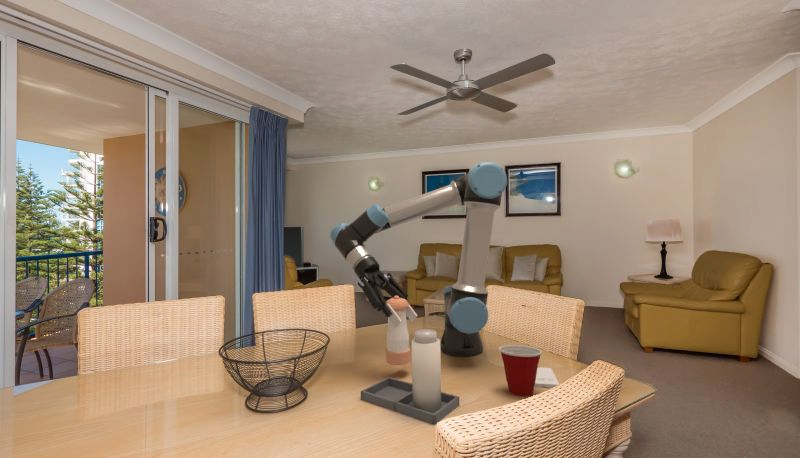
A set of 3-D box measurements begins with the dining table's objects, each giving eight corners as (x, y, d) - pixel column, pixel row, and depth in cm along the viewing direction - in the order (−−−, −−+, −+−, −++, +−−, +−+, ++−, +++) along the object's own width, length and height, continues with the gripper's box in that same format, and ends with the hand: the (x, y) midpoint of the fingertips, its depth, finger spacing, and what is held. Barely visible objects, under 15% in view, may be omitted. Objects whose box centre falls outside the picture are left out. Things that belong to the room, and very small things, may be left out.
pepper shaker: (414, 358, 113) (412, 294, 113) (404, 366, 107) (402, 298, 107) (392, 355, 116) (390, 293, 116) (381, 363, 110) (379, 297, 110)
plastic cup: (542, 388, 102) (541, 343, 102) (543, 406, 92) (542, 356, 92) (500, 383, 106) (500, 340, 106) (497, 400, 95) (496, 352, 95)
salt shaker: (423, 398, 95) (421, 326, 95) (446, 406, 91) (445, 330, 91) (407, 409, 89) (405, 333, 90) (431, 417, 85) (430, 337, 85)
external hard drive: (551, 373, 114) (560, 390, 102) (523, 371, 116) (528, 388, 104) (551, 367, 114) (560, 384, 102) (522, 366, 116) (528, 382, 104)
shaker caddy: (388, 387, 104) (388, 376, 104) (459, 409, 91) (459, 396, 91) (360, 403, 95) (360, 391, 95) (434, 429, 82) (434, 415, 82)
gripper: (377, 268, 129) (419, 322, 119) (334, 275, 113) (377, 337, 103) (389, 253, 126) (432, 306, 116) (346, 257, 110) (392, 320, 100)
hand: (406, 321), depth 109 cm, fingers closed on pepper shaker, 7 cm apart
